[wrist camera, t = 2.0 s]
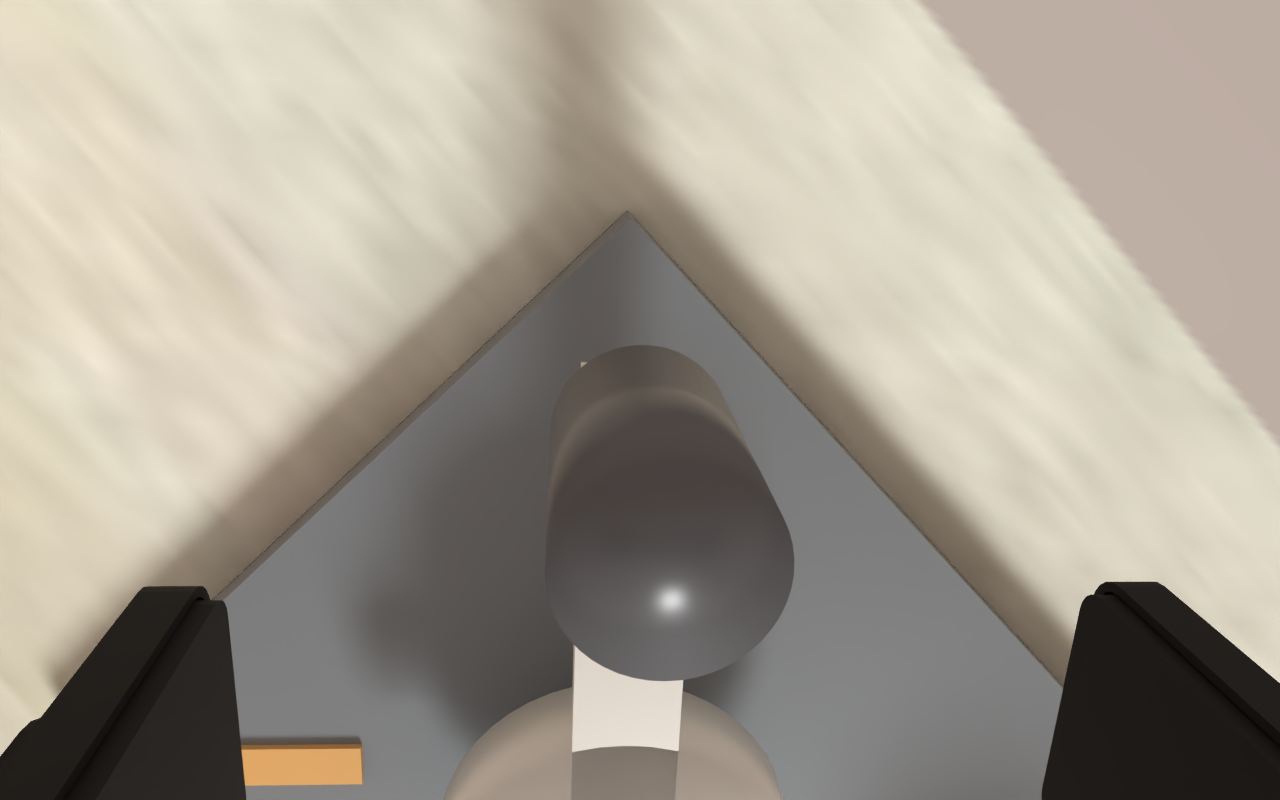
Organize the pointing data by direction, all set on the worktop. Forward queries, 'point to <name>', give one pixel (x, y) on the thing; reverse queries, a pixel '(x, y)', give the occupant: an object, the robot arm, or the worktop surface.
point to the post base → (524, 622)
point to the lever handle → (645, 594)
